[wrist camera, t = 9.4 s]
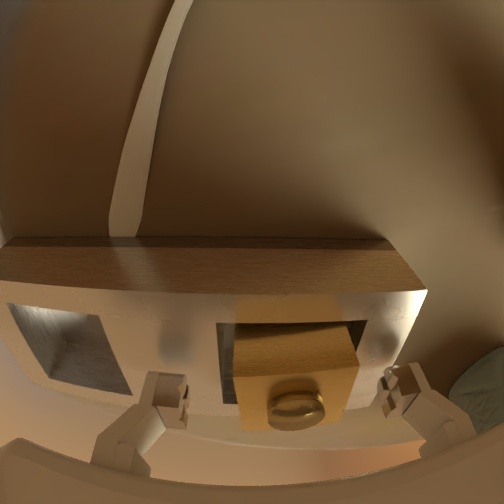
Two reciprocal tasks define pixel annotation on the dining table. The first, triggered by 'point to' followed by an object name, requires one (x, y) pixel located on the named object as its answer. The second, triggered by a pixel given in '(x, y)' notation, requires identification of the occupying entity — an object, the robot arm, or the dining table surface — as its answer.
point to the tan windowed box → (193, 308)
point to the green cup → (482, 391)
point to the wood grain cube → (292, 374)
